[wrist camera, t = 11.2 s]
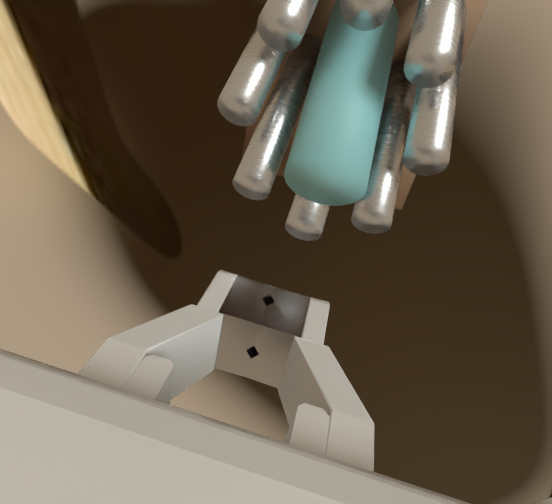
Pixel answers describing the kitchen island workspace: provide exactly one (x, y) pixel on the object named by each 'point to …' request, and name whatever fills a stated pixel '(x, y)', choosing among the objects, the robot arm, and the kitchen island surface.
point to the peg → (342, 112)
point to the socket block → (406, 10)
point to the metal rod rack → (395, 114)
